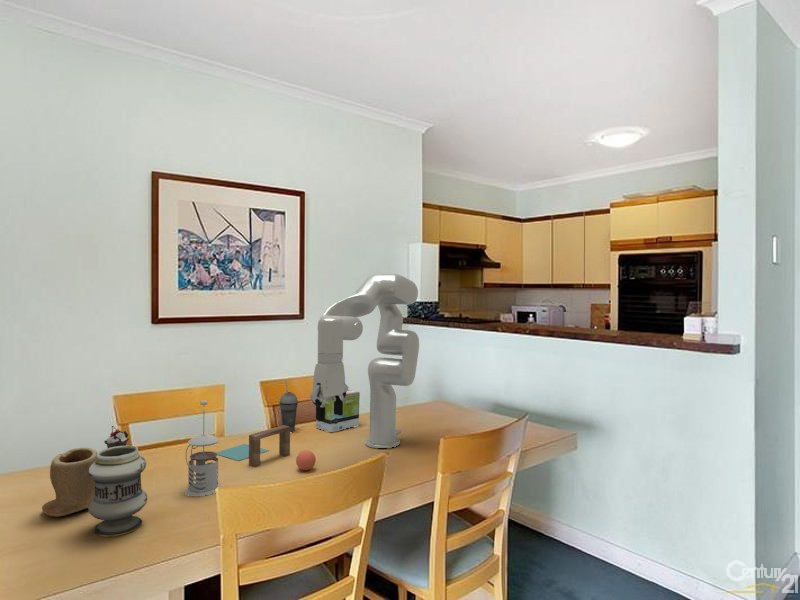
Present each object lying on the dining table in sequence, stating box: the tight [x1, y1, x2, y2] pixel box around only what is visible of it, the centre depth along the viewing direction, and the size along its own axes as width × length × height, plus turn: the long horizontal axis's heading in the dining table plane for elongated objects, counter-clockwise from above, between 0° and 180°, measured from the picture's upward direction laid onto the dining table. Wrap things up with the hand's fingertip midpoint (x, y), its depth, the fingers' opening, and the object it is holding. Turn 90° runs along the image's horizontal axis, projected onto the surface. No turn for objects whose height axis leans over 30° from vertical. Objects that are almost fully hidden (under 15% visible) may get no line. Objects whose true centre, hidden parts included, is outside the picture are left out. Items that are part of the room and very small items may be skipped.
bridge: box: [248, 425, 291, 468], centre depth 167 cm, size 3×15×10 cm, turn 147°
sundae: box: [104, 425, 130, 449], centre depth 153 cm, size 7×7×15 cm
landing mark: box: [216, 443, 270, 462], centre depth 174 cm, size 13×13×1 cm
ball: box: [295, 449, 317, 471], centre depth 158 cm, size 6×6×6 cm
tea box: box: [315, 389, 361, 433], centre depth 208 cm, size 15×10×15 cm
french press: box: [184, 399, 222, 497], centre depth 141 cm, size 10×12×25 cm
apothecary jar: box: [87, 445, 148, 538], centre depth 118 cm, size 12×12×18 cm
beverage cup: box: [279, 380, 299, 433], centre depth 201 cm, size 7×7×20 cm
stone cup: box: [41, 447, 98, 517], centre depth 128 cm, size 15×12×15 cm
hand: (329, 417), depth 153 cm, fingers open, 7 cm apart
